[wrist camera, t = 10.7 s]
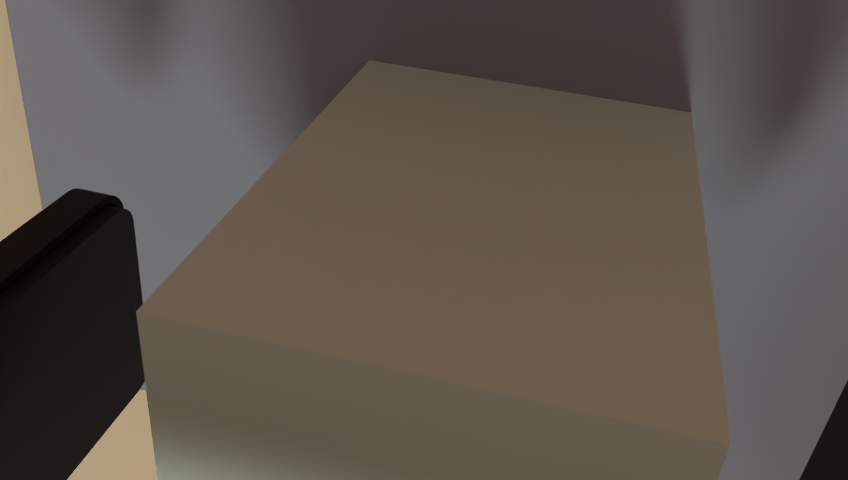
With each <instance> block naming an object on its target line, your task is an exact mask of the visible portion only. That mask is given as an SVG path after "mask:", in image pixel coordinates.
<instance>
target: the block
mask: <svg viewBox="0 0 848 480" xmlns="http://www.w3.org/2000/svg"><path fill="white" fill-rule="evenodd" d="M136 315H137V323H138V331H139V338H140V346H141V354H142V361H143V369H144V377H145V385H146V392H147V400H148V408H149V415H150V423H151V431H152V438H153V446H154V454H155V461H156V469H157V477H158V480H717V478H718V476H719V473H720V471H721V468H722V466H723V463H724V461H725V458H726V455H727V453H728V450H729V448H730V445H731V443H730V434H729V426H728V417H727V409H726V400H725V392H724V383H723V375H722V366H721V358H720V350H719V341H718V333H717V324H716V316H715V307H714V299H713V290H712V282H711V273H710V265H709V256H708V248H707V239H706V231H705V222H704V214H703V205H702V197H701V188H700V180H699V172H698V163H697V155H696V146H695V138H694V129H693V121H692V113H691V112H685V111H679V110H673V109H667V108H661V107H655V106H648V105H642V104H636V103H630V102H624V101H618V100H612V99H605V98H599V97H593V96H587V95H581V94H575V93H568V92H562V91H556V90H550V89H544V88H538V87H532V86H525V85H519V84H513V83H507V82H501V81H495V80H489V79H482V78H476V77H470V76H464V75H458V74H452V73H445V72H439V71H433V70H427V69H421V68H415V67H409V66H402V65H396V64H390V63H384V62H378V61H372V60H369V61H368V62H367V64H366V65H365V66H364V67H363V68H362V69H361V70H360V71H359V72H358V73H357V74H356V75H355V76H354V78H353V79H352V80H351V81H350V82H349V83H348V84H347V85H346V86H345V87H344V88H343V89H342V90H341V92H340V93H339V94H338V95H337V96H336V97H335V98H334V99H333V100H332V101H331V102H330V103H329V104H328V106H327V107H326V108H325V109H324V110H323V111H322V112H321V113H320V114H319V115H318V116H317V117H316V118H315V120H314V121H313V122H312V123H311V124H310V125H309V126H308V127H307V128H306V129H305V130H304V131H303V132H302V134H301V135H300V136H299V137H298V138H297V139H296V140H295V141H294V142H293V143H292V144H291V145H290V146H289V148H288V149H287V150H286V151H285V152H284V153H283V154H282V155H281V156H280V157H279V158H278V159H277V160H276V162H275V163H274V164H273V165H272V166H271V167H270V168H269V169H268V170H267V171H266V172H265V173H264V174H263V175H262V177H261V178H260V179H259V180H258V181H257V182H256V183H255V184H254V185H253V186H252V187H251V188H250V189H249V191H248V192H247V193H246V194H245V195H244V196H243V197H242V198H241V199H240V200H239V201H238V202H237V203H236V205H235V206H234V207H233V208H232V209H231V210H230V211H229V212H228V213H227V214H226V215H225V216H224V217H223V219H222V220H221V221H220V222H219V223H218V224H217V225H216V226H215V227H214V228H213V229H212V230H211V231H210V233H209V234H208V235H207V236H206V237H205V238H204V239H203V240H202V241H201V242H200V243H199V244H198V245H197V247H196V248H195V249H194V250H193V251H192V252H191V253H190V254H189V255H188V256H187V257H186V258H185V259H184V261H183V262H182V263H181V264H180V265H179V266H178V267H177V268H176V269H175V270H174V271H173V272H172V273H171V275H170V276H169V277H168V278H167V279H166V280H165V281H164V282H163V283H162V284H161V285H160V286H159V287H158V289H157V290H156V291H155V292H154V293H153V294H152V295H151V296H150V297H149V298H148V299H147V300H146V301H145V303H144V304H143V305H142V306H141V307H140V308H139V309H138V310H137V311H136Z"/></svg>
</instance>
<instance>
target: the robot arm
mask: <svg viewBox="0 0 848 480" xmlns="http://www.w3.org/2000/svg"><path fill="white" fill-rule="evenodd" d="M142 305H143V299H142V290H141V281H140V273H139V264H138V255H137V246H136V237H135V228H134V220H133V216H132V214H131V212H130V211H129V210H127V209H124V207H123V204H122V202H121V200H120V199H119V198H118V197H116V196H113V195H108V194H104V193H99V192H94V191H89V190H84V189H80V188H74V189H72V190H70V191H68V192H66V193H65V194H64V195H62V196H61V197H60V198H58V199H57V200H56V201H54V202H53V203H52V204H50V205H49V206H48V207H46V208H45V209H44V210H42V211H41V212H40V213H38V214H37V215H36V216H34V217H33V218H32V219H30V220H29V221H27V222H26V223H25V224H23V225H22V226H21V227H19V228H18V229H17V230H15V231H14V232H13V233H11V234H10V235H9V236H7V237H6V238H5V239H3V240H2V241H1V242H0V480H67V479H68V477H69V476H70V475H71V474H72V473H73V471H74V470H75V469H76V468H77V466H78V465H79V464H80V463H81V461H82V460H83V459H84V458H85V456H86V455H87V454H88V453H89V451H90V450H91V449H92V448H93V447H94V445H95V444H96V443H97V442H98V440H99V439H100V438H101V437H102V435H103V434H104V433H105V432H106V430H107V429H108V428H109V427H110V426H111V424H112V423H113V422H114V421H115V419H116V418H117V417H118V416H119V414H120V413H121V412H122V411H123V409H124V408H125V407H126V406H127V404H128V403H129V402H130V401H131V400H132V398H133V397H134V396H135V395H136V393H137V392H138V391H139V390H140V388H141V387H142V385H143V384H144V382H145V377H144V369H143V361H142V354H141V346H140V338H139V331H138V323H137V315H136V311H137V310H138V309H139V308H140V307H141V306H142ZM799 480H848V380H847V382H846V384H845V386H844V389H843V391H842V393H841V395H840V397H839V399H838V401H837V403H836V405H835V407H834V409H833V411H832V413H831V415H830V417H829V419H828V421H827V424H826V426H825V428H824V430H823V432H822V434H821V436H820V438H819V440H818V442H817V444H816V446H815V448H814V450H813V452H812V454H811V456H810V459H809V461H808V463H807V465H806V467H805V469H804V471H803V473H802V475H801V477H800V479H799Z"/></svg>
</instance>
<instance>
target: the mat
mask: <svg viewBox="0 0 848 480" xmlns="http://www.w3.org/2000/svg"><path fill="white" fill-rule="evenodd" d="M5 3H6V8H7V14H8V19H9V25H10V30H11V36H12V42H13V47H14V53H15V58H16V64H17V69H18V75H19V81H20V86H21V92H22V97H23V103H24V109H25V114H26V120H27V125H28V131H29V136H30V142H31V148H32V153H33V159H34V164H35V170H36V175H37V181H38V187H39V192H40V198H41V203H42V209H43V210H44V209H45V208H46V207H48V206H49V205H50V204H52V203H53V202H54V201H56V200H57V199H58V198H60V197H61V196H62V195H64V194H65V193H66V192H68V191H70V190H72V189H74V188H80V189H84V190H89V191H94V192H99V193H104V194H108V195H113V196H116V197H118V198H119V199H120V200H121V202H122V204H123V207H124V209H127V210H129V211H130V212H131V214H132V216H133V220H134V228H135V237H136V246H137V255H138V264H139V273H140V281H141V290H142V299H143V304H144V303H145V301H146V300H147V299H148V298H149V297H150V296H151V295H152V294H153V293H154V292H155V291H156V290H157V289H158V287H159V286H160V285H161V284H162V283H163V282H164V281H165V280H166V279H167V278H168V277H169V276H170V275H171V273H172V272H173V271H174V270H175V269H176V268H177V267H178V266H179V265H180V264H181V263H182V262H183V261H184V259H185V258H186V257H187V256H188V255H189V254H190V253H191V252H192V251H193V250H194V249H195V248H196V247H197V245H198V244H199V243H200V242H201V241H202V240H203V239H204V238H205V237H206V236H207V235H208V234H209V233H210V231H211V230H212V229H213V228H214V227H215V226H216V225H217V224H218V223H219V222H220V221H221V220H222V219H223V217H224V216H225V215H226V214H227V213H228V212H229V211H230V210H231V209H232V208H233V207H234V206H235V205H236V203H237V202H238V201H239V200H240V199H241V198H242V197H243V196H244V195H245V194H246V193H247V192H248V191H249V189H250V188H251V187H252V186H253V185H254V184H255V183H256V182H257V181H258V180H259V179H260V178H261V177H262V175H263V174H264V173H265V172H266V171H267V170H268V169H269V168H270V167H271V166H272V165H273V164H274V163H275V162H276V160H277V159H278V158H279V157H280V156H281V155H282V154H283V153H284V152H285V151H286V150H287V149H288V148H289V146H290V145H291V144H292V143H293V142H294V141H295V140H296V139H297V138H298V137H299V136H300V135H301V134H302V132H303V131H304V130H305V129H306V128H307V127H308V126H309V125H310V124H311V123H312V122H313V121H314V120H315V118H316V117H317V116H318V115H319V114H320V113H321V112H322V111H323V110H324V109H325V108H326V107H327V106H328V104H329V103H330V102H331V101H332V100H333V99H334V98H335V97H336V96H337V95H338V94H339V93H340V92H341V90H342V89H343V88H344V87H345V86H346V85H347V84H348V83H349V82H350V81H351V80H352V79H353V78H354V76H355V75H356V74H357V73H358V72H359V71H360V70H361V69H362V68H363V67H364V66H365V65H366V64H367V62H368V61H369V60H372V61H378V62H384V63H390V64H396V65H402V66H409V67H415V68H421V69H427V70H433V71H439V72H445V73H452V74H458V75H464V76H470V77H476V78H482V79H489V80H495V81H501V82H507V83H513V84H519V85H525V86H532V87H538V88H544V89H550V90H556V91H562V92H568V93H575V94H581V95H587V96H593V97H599V98H605V99H612V100H618V101H624V102H630V103H636V104H642V105H648V106H655V107H661V108H667V109H673V110H679V111H685V112H691V113H692V121H693V129H694V138H695V146H696V155H697V163H698V172H699V180H700V188H701V197H702V205H703V214H704V222H705V231H706V239H707V248H708V256H709V265H710V273H711V282H712V290H713V299H714V307H715V316H716V324H717V333H718V341H719V350H720V358H721V366H722V375H723V383H724V392H725V400H726V409H727V417H728V426H729V434H730V443H731V445H730V448H729V450H728V453H727V455H726V458H725V461H724V463H723V466H722V468H721V471H720V473H719V476H718V478H717V480H799V479H800V477H801V475H802V473H803V471H804V469H805V467H806V465H807V463H808V461H809V459H810V456H811V454H812V452H813V450H814V448H815V446H816V444H817V442H818V440H819V438H820V436H821V434H822V432H823V430H824V428H825V426H826V424H827V421H828V419H829V417H830V415H831V413H832V411H833V409H834V407H835V405H836V403H837V401H838V399H839V397H840V395H841V393H842V391H843V389H844V386H845V384H846V382H847V380H848V0H5ZM140 389H142V390H146V385H145V382H144V384H143V385H142V387H141V388H140Z"/></svg>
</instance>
